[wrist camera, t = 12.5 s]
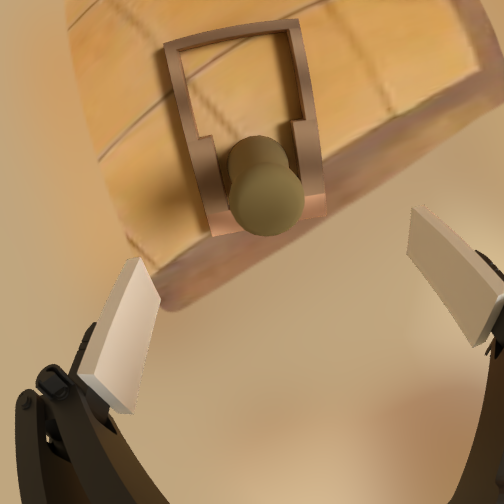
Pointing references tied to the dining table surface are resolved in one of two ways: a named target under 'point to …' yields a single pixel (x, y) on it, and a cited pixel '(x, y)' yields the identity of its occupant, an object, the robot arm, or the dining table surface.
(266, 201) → the olive rounded upright piece
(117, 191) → the dining table surface
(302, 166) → the keyhole board
